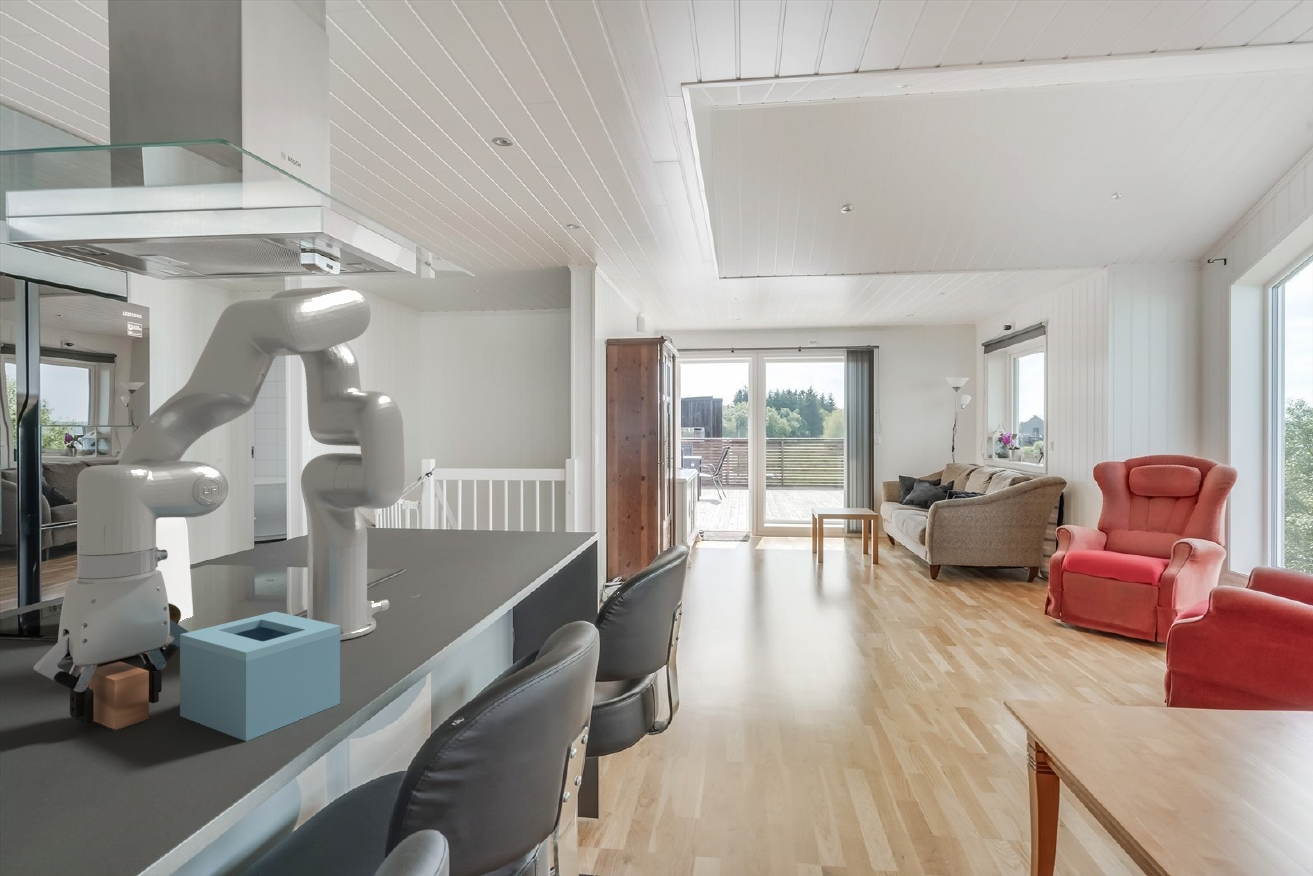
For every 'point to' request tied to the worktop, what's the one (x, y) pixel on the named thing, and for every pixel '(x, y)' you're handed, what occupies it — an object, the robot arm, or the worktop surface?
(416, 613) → the worktop surface
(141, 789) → the worktop surface
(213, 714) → the box
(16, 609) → the worktop surface
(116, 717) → the brown wooden block
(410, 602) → the worktop surface
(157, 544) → the milk
